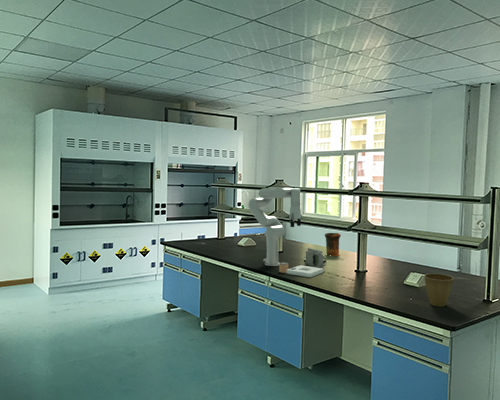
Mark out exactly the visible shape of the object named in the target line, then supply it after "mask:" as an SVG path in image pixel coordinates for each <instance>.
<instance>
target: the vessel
mask: <svg viewBox="0 0 500 400" xmlns="http://www.w3.org/2000/svg"><path fill="white" fill-rule="evenodd" d="M341 235H342V234H341V233H340V232H327V233H325V234H324V237H325V244H326V245H325V248H326V249H325V250H326V254H327V255H331V256H330V257H338V256H339V255H340V251H339V250H340V238H341V237H342V236H341ZM327 255H326V256H327Z"/></svg>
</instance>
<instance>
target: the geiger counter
mask: <svg viewBox="0 0 500 400" xmlns="http://www.w3.org/2000/svg"><path fill="white" fill-rule="evenodd" d="M324 261H325V264H324ZM327 263H328V262H327V259H326V258H325V257H324V254H323V251H322V250H321V249H315V248H312V247H308V248H307V250H305V265H306V266H307V265H308V266H310V267H316V268H322V269H324V267H326V266H327Z"/></svg>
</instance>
